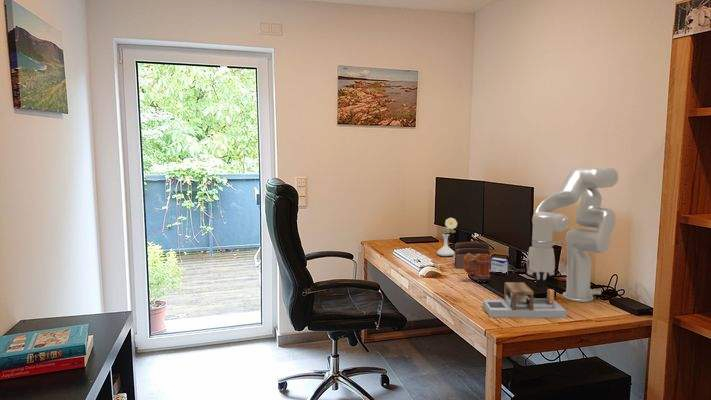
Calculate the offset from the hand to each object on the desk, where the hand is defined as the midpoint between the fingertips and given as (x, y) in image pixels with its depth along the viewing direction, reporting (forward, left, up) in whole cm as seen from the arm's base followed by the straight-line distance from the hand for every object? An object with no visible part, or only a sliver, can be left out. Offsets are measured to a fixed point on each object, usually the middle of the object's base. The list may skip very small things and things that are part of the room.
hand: (539, 288), depth 184 cm
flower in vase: (+23, -104, -10) cm, 108 cm away
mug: (+16, -44, -10) cm, 49 cm away
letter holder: (+13, -76, -11) cm, 78 cm away
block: (+8, 0, -7) cm, 11 cm away
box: (+1, -59, -11) cm, 60 cm away
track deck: (+6, 0, -10) cm, 12 cm away
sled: (+3, 0, -7) cm, 8 cm away
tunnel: (+8, 0, -7) cm, 11 cm away
